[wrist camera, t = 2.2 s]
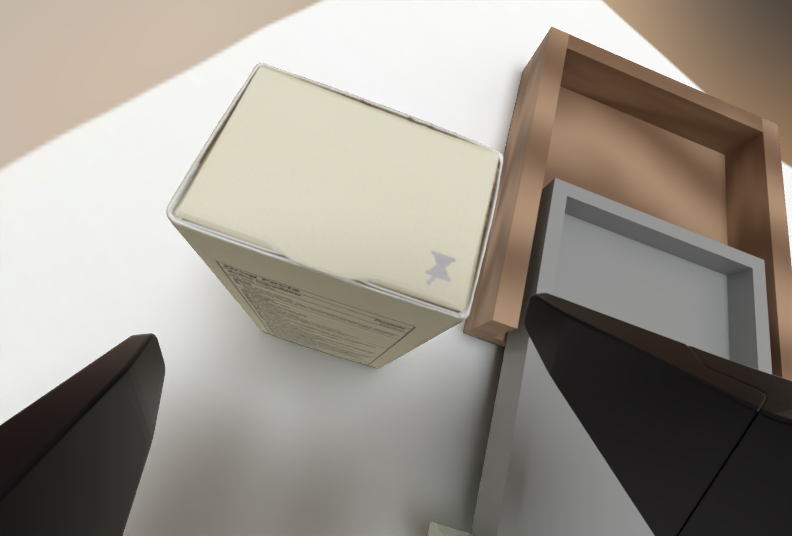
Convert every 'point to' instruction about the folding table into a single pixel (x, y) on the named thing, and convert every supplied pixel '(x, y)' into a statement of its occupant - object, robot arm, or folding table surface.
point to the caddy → (634, 173)
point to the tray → (622, 299)
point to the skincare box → (339, 217)
